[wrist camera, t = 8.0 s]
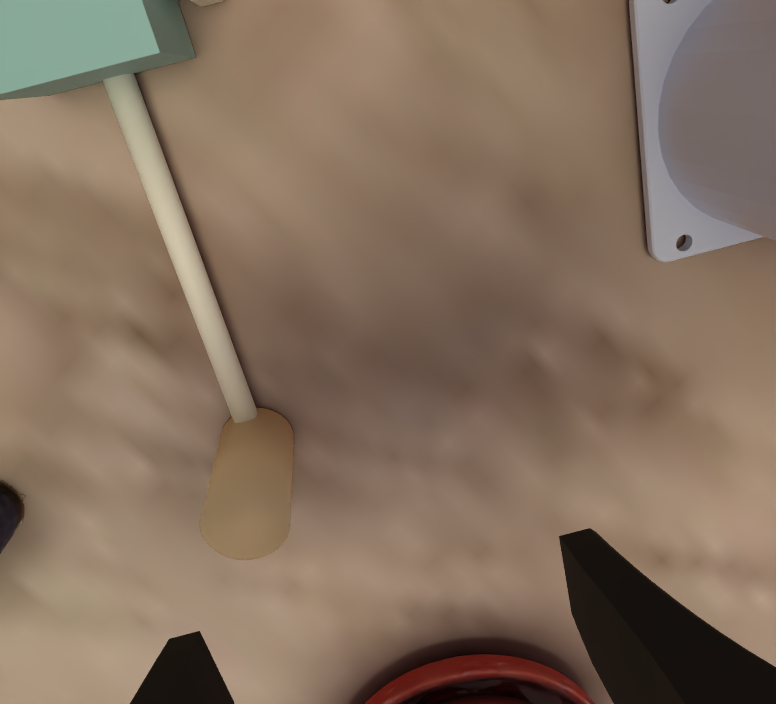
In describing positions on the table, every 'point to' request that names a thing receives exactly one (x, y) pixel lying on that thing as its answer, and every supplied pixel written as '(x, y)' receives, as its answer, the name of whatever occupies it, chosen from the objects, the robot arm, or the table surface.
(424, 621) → the table surface
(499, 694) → the plant pot
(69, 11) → the toy mallet
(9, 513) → the flask
